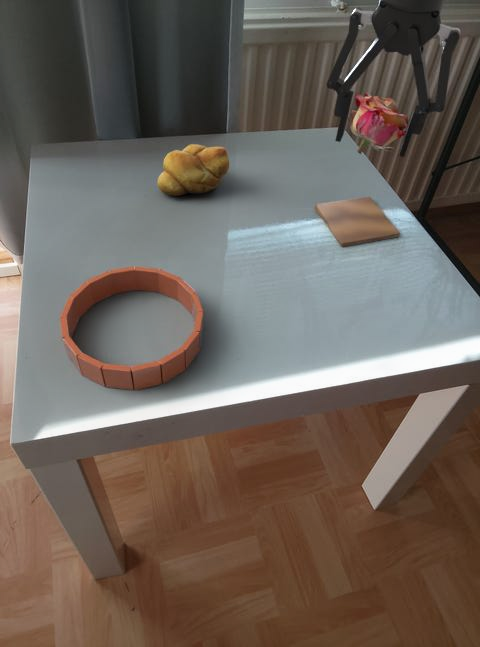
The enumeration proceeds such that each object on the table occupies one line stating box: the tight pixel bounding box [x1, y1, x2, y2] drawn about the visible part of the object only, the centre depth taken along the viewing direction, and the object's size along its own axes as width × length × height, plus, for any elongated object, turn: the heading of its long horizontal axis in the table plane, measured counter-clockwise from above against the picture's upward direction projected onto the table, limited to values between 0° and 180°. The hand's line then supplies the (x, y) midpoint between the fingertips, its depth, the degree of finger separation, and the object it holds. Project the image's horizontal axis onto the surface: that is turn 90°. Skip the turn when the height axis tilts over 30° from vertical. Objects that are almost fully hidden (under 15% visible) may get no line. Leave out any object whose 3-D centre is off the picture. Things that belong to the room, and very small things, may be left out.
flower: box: [347, 92, 410, 155], centre depth 73 cm, size 10×9×8 cm
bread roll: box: [157, 143, 230, 197], centre depth 89 cm, size 13×10×8 cm
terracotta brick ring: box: [59, 265, 204, 391], centre depth 67 cm, size 18×18×4 cm
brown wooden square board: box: [314, 196, 401, 248], centre depth 88 cm, size 11×11×1 cm
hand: (370, 144), depth 76 cm, fingers closed on flower, 9 cm apart
